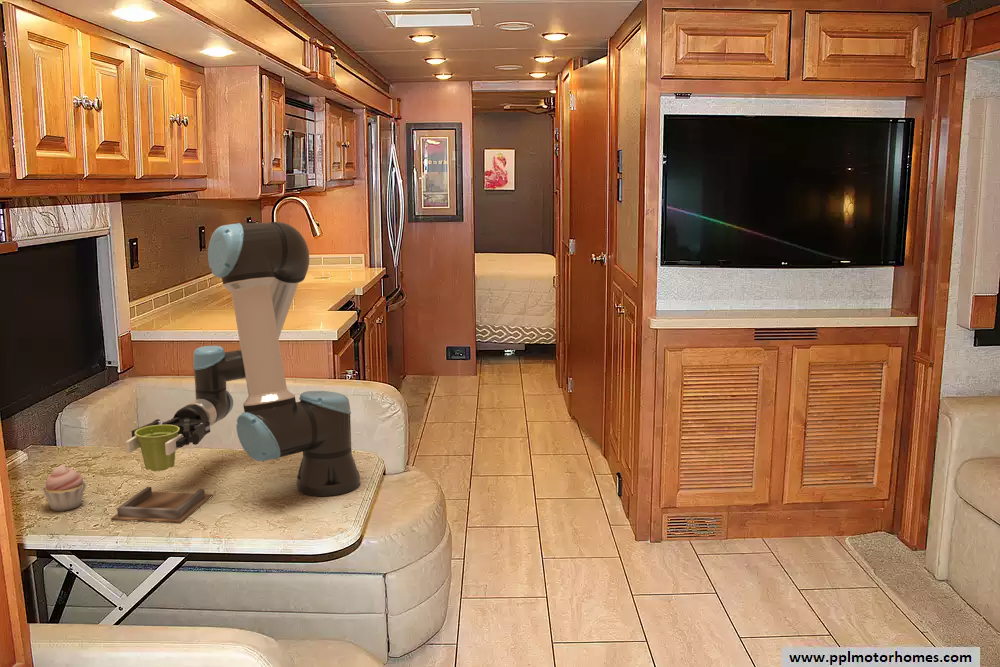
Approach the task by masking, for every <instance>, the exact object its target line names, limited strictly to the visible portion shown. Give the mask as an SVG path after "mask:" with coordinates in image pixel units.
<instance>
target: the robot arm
mask: <svg viewBox="0 0 1000 667" xmlns="http://www.w3.org/2000/svg"><path fill="white" fill-rule="evenodd" d="M207 249H208V250H207V256H208V257H207V260H208V267H209V270H211V273H212V275H213V276H214V277H217V278H219V279H221V280H222V286H223V288H225V289H226V290H228V291H229V292H230V293H231V297H232V302H233V303H232V304H233V311H234V316H235V322H236V328H237V329H236V330H237V334H238V341H239V346H240V349H238V350H231V351H225V349H224V348H223V347H222V346H220V345H204V346H200V347H197V348H196V349H195V350H194V351H193V357H192V358H193V362H192V364H193V376H194V377H193V378H194V385H195V387H194V388H195V400H193V401H192V402H190V403H188V404H187V405H185V406H183V407H181V408H179V409H178V410H177V411H176V412H175V413H174V415H173V417H172V418H170V419H168V420H166V421H163V422H162V421H161V419H159V418H157V419H154V420H153V421H151V422H150V423H147V424H144V425H143V426H140V427H138V428H136V429H133V430H131V431H130V432H131V438H129V439H128V440H126V441H125V449H126V454H132V453H133V452H134V451H136V450H138V449H139V448H141V447H140V443H139V441H138V439H137V436H135V431H136V430H138V429H140V428H143V427H147V426H152V425H175V426H178V427H179V428H180V430H179V432H178V435H177V436H176V437H174V438H172V439H171V440H169V441H168V442H166V443H165V451H166V455H170V454H172V453H173V452H174V451H175V452H176V451H177V450H179V449H180V448H183V447H184V446H188V445H190V444H191V443H192V445H193V446H194V445H195V446H196V445H198V444H200V442H201V441H202V440H203V439H204V438H205V436H206V435H207V434H209V433H211V427H212V425H214V424H215V423H217V422H219V421H221V420H223V419H224V418H225V417H227V416H228V414H229V413H230V412H231V411H232V409H233V407H234V399H233V396H232V395H231V393H230V391H228V390H227V382H231V381H238V380H242V379H245V382H246V388H247V393H248V397H247V398H246V400H245V401H244V403H242V407H243V411H244V412H242V413H241V414H239V415H238V416H237V419H236V434H237V438H238V440H239V443H240V445H241V447H242V449H243V450H244V451H245V453H246V454H247V455H248V456H249V457H250V458H251V459H253V460H255V461H257V462H265V461H271V460H273V461H274V460H278V459H280V458H282V457H287V456H291V455H294V454H298V453H302V458H301V461H300V466H299V469H298V473H297V476H296V489H297V491H299V492H300V493H301V494H304V495H308V496H315V497H329V496H330V497H333V496H339V495H344V494H347V493H350V492H352V491H354V490H356V489H357V488H358V487H360V485H361V476H360V472H359V470H358V468H357V464H356V462H355V459H354V456H353V453H352V428H351V415H352V412H351V405H350V399H349V398H348V396H346V395H345V394H343V393H339V392H334V391H330V390H329V391H328V390H327V391H326V390H309V391H304V392H301V393H299V394H300V395H299V398H298V399H299V401H296V395H295V394H294V393H292V392H290V391H289V390H288V387H287V382H286V375H285V369H284V363H283V359H282V358H283V357H282V350H281V346H280V345H281V344H280V340H279V339H280V337H281V333H282V331H283V328H284V324H285V322H286V319H287V316H288V314H289V312H290V311H289V310H290V308H291V305H292V304H293V300H294V297H295V294H296V291H297V289H298V286H299V284H300V283H302V282H303V281H304V280H305V278H306V277H307V273H308V270H309V266H310V251H309V247H308V245H307V241H306V240H305V238H304V236H303V235H302V233H301V232H299V230H297V229H296V228H295V227H294V226H292V225H290V224H289V223H285V222H281V221H273V222H272V221H271V222H243V223H242V222H237V223H231V224H224V225H221V226H218V227H217V228H216V229H215V230H214V231H213V233H212V235H211V238H210V240H209V243H208V247H207Z"/></svg>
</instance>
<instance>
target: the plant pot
mask: <svg viewBox="0 0 1000 667" xmlns="http://www.w3.org/2000/svg"><path fill="white" fill-rule="evenodd" d="M139 428H140V427H139ZM179 430H180V428H179V427H178V426H175V425H152V426H147V427H143V428H140V429H138V430H136V431H135V436H137V439H138V441H139V443H140V447H139V448H140V450H141V454H142V455H141V456H142V459H143V464H144V468H145V469H146V470H147V471H149V470H150V471H151V472H160V471H166V470H168V469H169V468H174V466H175V462H176V461H175V460H176V451H174V452H173V453H172V454H170V455H166V451H165V443H166V442H168V441H169V440H171V439H172V438H174V437H176V436H177V435H178V432H179Z"/></svg>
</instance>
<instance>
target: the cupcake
mask: <svg viewBox="0 0 1000 667" xmlns="http://www.w3.org/2000/svg"><path fill="white" fill-rule="evenodd" d="M87 485H88V483H86V480H84V476H82V474H80V473H78V471H76V470H75V469H72V468H68V467H66V465H65V464H64V463H63V464H61V465H59V466H57V467H55V468H54V469H53V470H52V471H51V474H50V475H49V476H48V477H47V478H46V481H45V486H44V487H42V488H41V491H42V493H43V494H44V496H45V498H46V500H47V503H48V505H49V508H50V509H51V510H52V511H55V512H56V511H57V512H63V511H69V510H73V509H76V508H78V507H80V505H81V504H82V500H83V495H84V491H85V489H86V487H87Z"/></svg>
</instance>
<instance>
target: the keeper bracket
mask: <svg viewBox="0 0 1000 667" xmlns="http://www.w3.org/2000/svg"><path fill="white" fill-rule="evenodd" d="M213 495H214V493H206V492H205V488H200V489H198V490H197V491H196V492H194V493H191V492H171V491H170V492H169V491H168V492H167V491H166V492H163V491H152V486H146V487H145V488H143V489H142V490H140V491H139V492H138V493H136V494H135V495H134V496H132V497H131V498H129V499H128V500H126V501H125V502H123V503H122V504H121V505H119V506H118V507H117V508H116V511H117V513H116V514H115V515H113V516H112V517H111V518H110V520H111V521H115V520H116V522H118V521H117V520H129V521H128V522H132V521H131V520H137V521H136V522H138V521H159V522H158V523H160V522H171V523H170V524H182V523H183V522H184V521H185V520H186V519H187V517H188V516H189V515H190V514H191V513H192V514H193V512H194V511H195V510H196V509H197V508H198V509H200V508H201V507H202V506H203V505H204V504H205V503H206V501H207V500H208V499H209V498H210V497H211V496H212V497H214V496H213ZM212 497H211V498H212ZM211 498H210V499H211ZM210 499H209V500H210ZM209 500H208V501H209ZM208 501H207V502H208ZM204 502H205V503H204ZM203 503H204V504H203ZM202 504H203V505H202ZM201 505H202V506H201ZM200 506H201V507H200ZM198 509H197V510H198ZM197 510H196V511H197ZM196 511H195V512H196ZM195 512H194V513H195ZM192 514H191V515H192ZM191 515H190V516H191ZM190 516H189V517H190ZM189 517H188V518H189ZM181 522H182V523H181Z"/></svg>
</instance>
